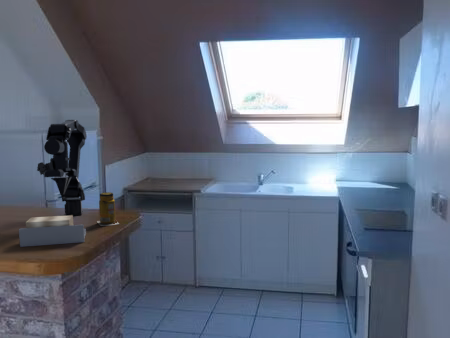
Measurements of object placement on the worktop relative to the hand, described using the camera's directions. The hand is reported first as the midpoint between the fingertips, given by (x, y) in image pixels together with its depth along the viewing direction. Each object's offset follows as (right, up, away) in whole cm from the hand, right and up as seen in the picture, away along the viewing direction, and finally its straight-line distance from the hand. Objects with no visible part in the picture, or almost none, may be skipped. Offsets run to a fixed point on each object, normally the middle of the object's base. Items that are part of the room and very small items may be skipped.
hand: (62, 195), depth 175 cm
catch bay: (+5, -14, -20) cm, 25 cm away
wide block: (+4, -15, -21) cm, 26 cm away
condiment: (+17, -12, +2) cm, 21 cm away
